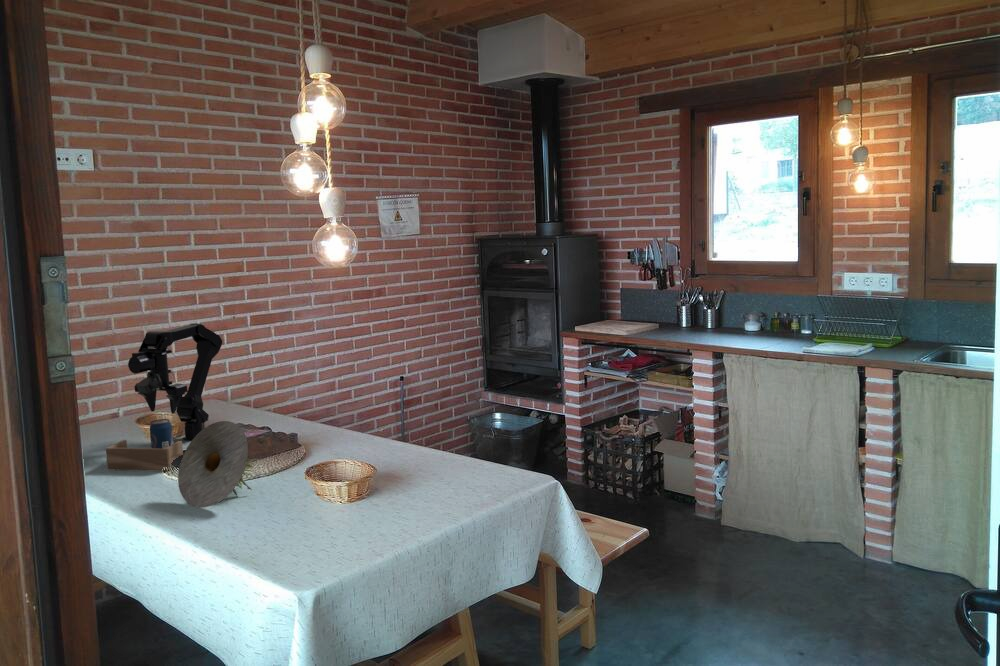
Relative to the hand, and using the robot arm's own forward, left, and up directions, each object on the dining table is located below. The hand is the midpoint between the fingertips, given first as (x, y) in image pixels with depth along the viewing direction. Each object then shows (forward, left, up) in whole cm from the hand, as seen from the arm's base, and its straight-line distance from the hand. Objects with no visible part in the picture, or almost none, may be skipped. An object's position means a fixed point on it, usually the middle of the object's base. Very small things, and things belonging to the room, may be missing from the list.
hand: (163, 412), depth 276 cm
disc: (+30, +52, -13) cm, 62 cm away
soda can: (+7, +5, -13) cm, 16 cm away
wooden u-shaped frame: (+16, +8, -13) cm, 22 cm away
